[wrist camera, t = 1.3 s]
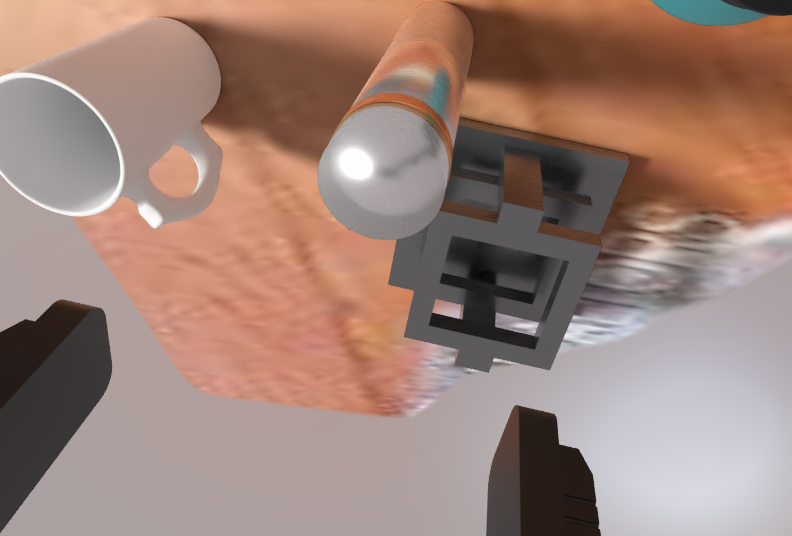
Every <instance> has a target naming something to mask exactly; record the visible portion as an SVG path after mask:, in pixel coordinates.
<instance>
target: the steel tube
mask: <svg viewBox="0 0 792 536" xmlns="http://www.w3.org/2000/svg"><path fill="white" fill-rule="evenodd" d="M473 44H474V34H473V29H472V26H471V23H470V21H469V19H468V18H467V16H466V15H465V14H464V12H463V11H462V10H460V9H459V8H458V7H456V6H455V5H453V4H450V3H448V2H443V1H431V2H427V3H424V4H422V5H420V6H418V7H417V8H416V9H414V10H413V11H412V12H411V13H410V14H409V16H408V17H407V19H406V20H405V22H404V23H403V25H402V27H401V28H400V30H399V31H398V33H397V35H396V36H395V38H394V39H393V41H392V43H391V44H390V46H389V47H388V49H387V51H386V52H385V54H384V55H383V57H382V59H381V60H380V62H379V63H378V65H377V67H376V68H375V70H374V72H373V73H372V75H371V76H370V78H369V80H368V81H367V83H366V84H365V86H364V88H363V89H362V91H361V92H360V94H359V96H358V97H357V99H356V100H355V102H354V104H353V105H352V107H351V108H350V109H349V111H348V112H347V113H346V114H345V116H344V117H343V118H342V120H341V122H340V123H339V125H338V126H337V128H336V130H335V131H334V133H333V135H332V137H331V139H330V142H329V144H328V145H327V147H326V149H325V150H324V152H323V154H322V156H321V159H320V162H319V167H318V186H319V190H320V194H321V196H322V199H323V201H324V203H325V205H326V206H327V208H328V209H329V211H330V212H331V214H332V215H333V216H334V217H335V218H336V219H337V220H338V221H339V222H340V223H341V224H343V225H344V226H345V227H347V228H348V229H350V230H352V231H353V232H355V233H357V234H360V235H362V236H365V237H369V238H373V239H379V240H395V239H401V238H405V237H408V236H411V235H413V234H415V233H417V232H419V231H420V230H422V229H423V228H425V227H426V226H427V225H428V224H429V223H430V222H431V221H432V220H433V219H434V218H435V216H436V215H437V213H438V212H439V210H440V207H441V205H442V202H443V199H444V194H445V189H446V187H447V184H448V181H449V176H450V171H451V166H452V160H453V148H454V143H455V137H456V132H457V127H458V122H459V117H460V112H461V106H462V101H463V96H464V91H465V86H466V81H467V75H468V70H469V65H470V60H471V55H472V50H473Z"/></svg>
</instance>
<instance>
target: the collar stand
mask: <svg viewBox="0 0 792 536" xmlns="http://www.w3.org/2000/svg"><path fill="white" fill-rule="evenodd" d="M629 164H630V161H629V158H628V156H627V154H626V153H621V152H617V151H612V150H607V149H603V148H598V147H594V146H589V145H584V144H580V143H575V142H570V141H566V140H561V139H556V138H552V137H547V136H543V135H538V134H533V133H529V132H524V131H519V130H515V129H510V128H506V127H501V126H496V125H492V124H487V123H482V122H478V121H473V120H469V119H464V118H459V122H458V127H457V132H456V137H455V143H454V148H453V160H452V166H451V171H450V176H449V181H448V184H447V187H446V189H445V194H444V199H443V202H442V205H441V207H440V210H439V212H438V213H437V215H436V216H435V218H434V219H433V220H432V221H431V222H430V223H429V224H428V225H427V226H426V227H425V228H423V229H422V230H420V231H419V232H417V233H415V234H413V235H411V236H408V237H405V238H401V239H397V242H396V247H395V252H394V257H393V262H392V267H391V272H390V277H389V282H388V285H392V286H396V287H401V288H405V289H410V290H414V294H413V299H412V303H411V308H410V312H409V316H408V321H407V325H406V330H405V334H404V337H406V338H411V339H415V340H419V341H424V342H428V343H433V344H437V345H441V346H446V347H450V348H454V349H456V357H455V365H457V366H462V367H466V368H470V369H475V370H479V371H483V372H488V373H489V370H490V367H491V365H492V362H493V359H494V358H498V359H502V360H507V361H511V362H516V363H520V364H524V365H529V366H533V367H537V368H542V369H546V370H550V368H551V366H552V364H553V361H554V359H555V356H556V354H557V352H558V350H559V347H560V345H561V343H562V340H563V338H564V335H565V333H566V331H567V328H568V326H569V324H570V321H571V319H572V316H573V314H574V312H575V309H576V307H577V305H578V302H579V300H580V298H581V295H582V293H583V290H584V288H585V286H586V283H587V281H588V279H589V276H590V274H591V271H592V269H593V267H594V264H595V262H596V260H597V257H598V255H599V253H600V250H601V248H602V245H601V241H600V233H601V231H602V229H603V226H604V224H605V221H606V219H607V217H608V214H609V212H610V209H611V207H612V205H613V202H614V200H615V197H616V195H617V192H618V190H619V188H620V185H621V183H622V180H623V178H624V176H625V173H626V171H627V168H628V166H629ZM435 299H439V300H443V301H448V302H452V303H456V304H461V312H460V319H457V318H453V317H448V316H444V315H440V314H435V313H432V311H433V307H434V303H435ZM495 313H501V314H505V315H509V316H514V317H518V318H523V319H527V320H532V321H536V322H540V323H539V325H538V328H537V330H536V333H535V335H534V336H532V335H528V334H523V333H519V332H514V331H510V330H506V329H501V328H497V327H495Z"/></svg>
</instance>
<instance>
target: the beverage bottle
mask: <svg viewBox="0 0 792 536" xmlns="http://www.w3.org/2000/svg"><path fill="white" fill-rule="evenodd" d="M651 1H652V2H653V3H654V4H655V5H657V6H658V7H659V8H661V9H662V10H664V11H665V12H667V13H668V14H670V15H672V16H674V17H676V18H678V19H681V20H684V21H687V22H690V23H694V24H700V25H706V26H727V25H737V24H742V23H747V22H751V21H754V20H757V19H760V18H764V17H767V16H769V15H777V16H786V15H792V0H651Z"/></svg>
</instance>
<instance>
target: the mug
mask: <svg viewBox="0 0 792 536" xmlns="http://www.w3.org/2000/svg"><path fill="white" fill-rule="evenodd" d="M220 89H221V75H220V69H219V66H218V63H217V60H216V58H215V56H214V54H213V52H212V50H211V48H210V47H209V45H208V44H207V43H206V42H205V40H204V39H203V38H202V37H201V36H200V35H199V34H198V33H197V32H195V31H194V30H193V29H192V28H190V27H189V26H187V25H185V24H183V23H181V22H179V21H177V20H174V19H170V18H164V17H153V18H148V19H144V20H141V21H138V22H136V23H133V24H130V25H127V26H125V27H122V28H120V29H117V30H115V31H112V32H110V33H108V34H105V35H103V36H100V37H98V38H95V39H93V40H90V41H88V42H85V43H83V44H80V45H78V46H75V47H73V48H70V49H68V50H65V51H63V52H60V53H58V54H55V55H53V56H50V57H48V58H45V59H43V60H40V61H38V62H35V63H33V64H31V65H28V66H26V67H24V68H21V69H19V70H17V71H15V72H13V73H10V74H6V75H4V76H1V77H0V174H1V175H2V176H3V177H4V178H5V180H6V181H7V182H8V183H9V184H10V185H11V186H12V187H13V188H15V189H16V190H17V191H18V192H19V193H21V194H22V195H24V196H25V197H26V198H27V199H29V200H31V201H32V202H34V203H36V204H37V205H39V206H42V207H43V208H46V209H48V210H51V211H53V212H56V213H60V214H64V215H69V216H90V215H95V214H98V213H101V212H103V211H105V210H107V209H108V208H110V207H111V206H112V205H113V204H114V203H115V202H116V201H117V200H118V198H119V197H122V196H123V197H128V198H129V199H131V200H133V201H134V202H135V203H136V204H137V205H138V208H139V213H140V214H141V216H142V217H143V218H144V219H145V220H146V221H147V222H148V223H149V224H150V225H151V226H152V227H153V228H158V227H160V226H162V225H163V224H166V223H170V222H176V221H181V220H185V219H188V218H191V217H193V216H196V215H198V214H199V213H201V212H202V211H203V210H205V209H206V208H207V207H208V206H209V204H210V203H211V201H212V200H213V198H214V196H215V194H216V191H217V188H218V183H219V177H220V169H221V163H222V157H223V151H222V149H221V148H220V146H219V145H218V144H217V143H216V142H215V141H214V140H213V139H212V138H211V137H210V136H209V135H208V134H207V133H206V131H205V130H204V128H203V126H202V123H201V120H202V119H203V118H204V117H205V116H206V115H207V114H208V113H209V112H210V111H211V110H212V108H213V107H214V106H215V104H216V102H217V100H218V97H219V94H220ZM175 145H178V146H181V147H183V148H184V149H185V150H186V151H187V152H188V153H189V154H190V155H191V156H192V157H193V158H194V160H195V162H196V164H197V167H198V171H199V181H198V185H197V187H196V189H195V191H194V192H193V194H192V195H190V196H188V197H184V198H175V197H170V196H168V195H166V194H164V193H162V192H161V191H160V190H158V189H157V188H156V187H155V186H154V184H153V183H152V181H151V180H150V178H149V175H148V172H149V169H150V168H151V167H152V166H153V165H154V164H155V163H156V162H157V161H158V160H159V159H160V158H161V157H162V156H163V155H164V154H165V153H166V152H167V151H168V150H170V149H171V148H172V147H173V146H175Z"/></svg>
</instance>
